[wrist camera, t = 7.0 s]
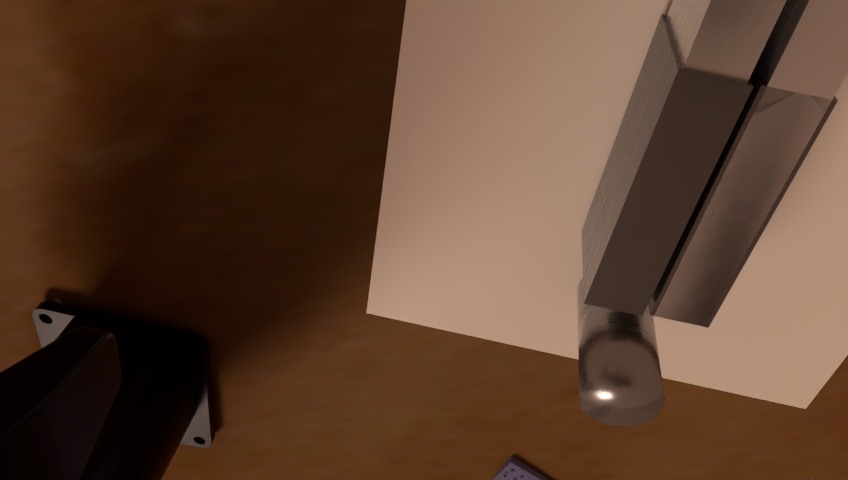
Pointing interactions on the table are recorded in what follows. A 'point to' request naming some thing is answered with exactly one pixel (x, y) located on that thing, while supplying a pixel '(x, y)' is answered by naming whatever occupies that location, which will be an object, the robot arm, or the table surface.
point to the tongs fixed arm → (721, 212)
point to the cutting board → (579, 197)
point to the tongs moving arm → (670, 143)
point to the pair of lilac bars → (517, 472)
